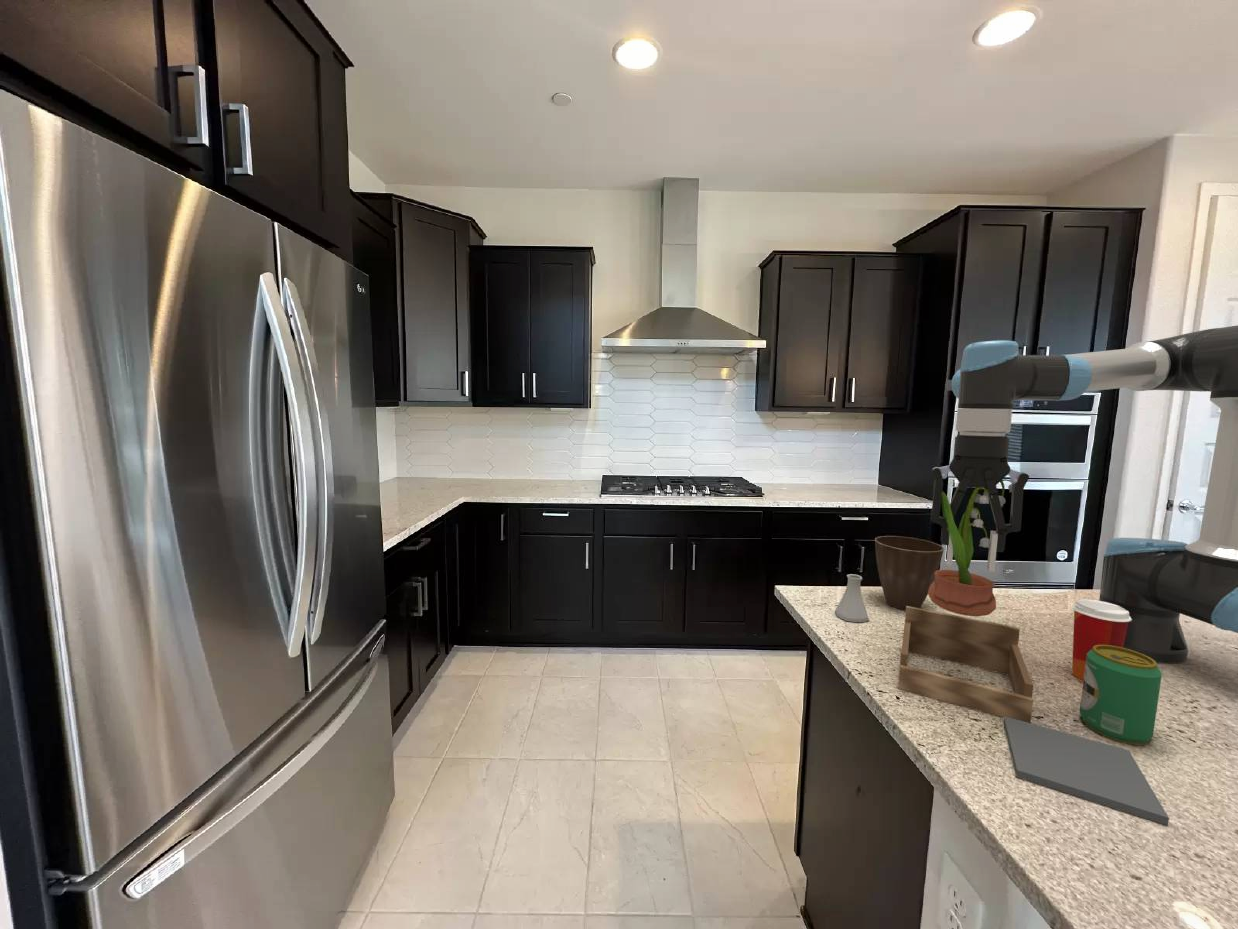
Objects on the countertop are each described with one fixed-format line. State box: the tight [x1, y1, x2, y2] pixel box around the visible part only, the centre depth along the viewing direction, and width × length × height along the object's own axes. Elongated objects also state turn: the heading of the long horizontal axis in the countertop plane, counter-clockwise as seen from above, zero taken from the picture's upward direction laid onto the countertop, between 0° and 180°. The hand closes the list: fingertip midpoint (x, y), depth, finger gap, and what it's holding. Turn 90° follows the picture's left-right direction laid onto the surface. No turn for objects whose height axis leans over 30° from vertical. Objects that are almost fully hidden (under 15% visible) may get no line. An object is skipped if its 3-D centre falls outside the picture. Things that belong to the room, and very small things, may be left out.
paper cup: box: [1071, 598, 1132, 682], centre depth 90 cm, size 8×8×14 cm
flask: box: [834, 573, 870, 624], centre depth 116 cm, size 7×7×10 cm
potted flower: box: [927, 478, 1013, 617], centre depth 86 cm, size 12×10×25 cm
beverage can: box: [1078, 645, 1163, 746], centre depth 75 cm, size 8×8×12 cm
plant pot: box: [874, 535, 945, 610], centre depth 124 cm, size 15×15×16 cm
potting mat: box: [1002, 716, 1170, 826], centre depth 67 cm, size 14×14×1 cm
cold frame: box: [897, 606, 1034, 723], centre depth 88 cm, size 18×18×9 cm
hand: (969, 565), depth 86 cm, fingers open, 5 cm apart
